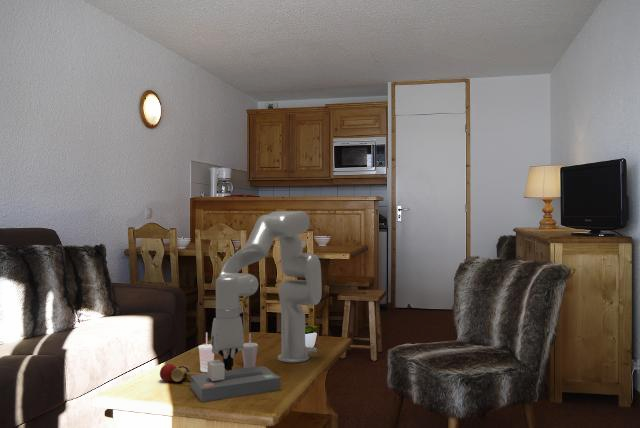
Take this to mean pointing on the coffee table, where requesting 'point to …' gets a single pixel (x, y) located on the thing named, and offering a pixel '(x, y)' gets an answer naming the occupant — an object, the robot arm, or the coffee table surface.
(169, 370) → the kendama
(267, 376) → the switch panel
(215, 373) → the breaker knob
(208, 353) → the beverage cup
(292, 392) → the coffee table surface
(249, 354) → the smoothie
